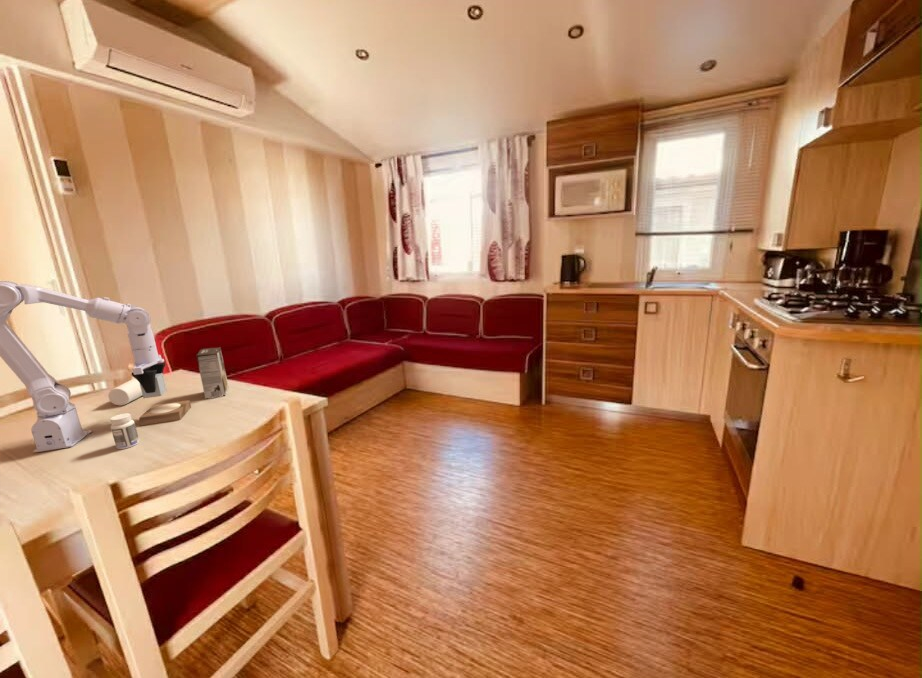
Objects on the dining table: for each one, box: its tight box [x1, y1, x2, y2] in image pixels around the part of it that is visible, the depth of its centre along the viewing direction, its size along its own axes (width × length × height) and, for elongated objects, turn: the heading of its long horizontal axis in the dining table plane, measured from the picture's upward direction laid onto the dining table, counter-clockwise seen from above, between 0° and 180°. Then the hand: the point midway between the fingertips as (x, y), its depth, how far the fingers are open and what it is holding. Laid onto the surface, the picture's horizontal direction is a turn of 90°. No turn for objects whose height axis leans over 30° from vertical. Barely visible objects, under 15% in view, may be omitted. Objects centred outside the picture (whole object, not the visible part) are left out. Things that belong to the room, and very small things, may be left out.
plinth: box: [138, 399, 192, 426], centre depth 117 cm, size 10×10×3 cm
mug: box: [108, 377, 143, 406], centre depth 131 cm, size 10×7×12 cm
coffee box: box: [196, 346, 229, 400], centre depth 133 cm, size 9×6×16 cm
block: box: [140, 372, 168, 399], centre depth 115 cm, size 4×4×6 cm
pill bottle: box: [110, 412, 140, 450], centre depth 99 cm, size 5×5×8 cm
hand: (154, 389), depth 115 cm, fingers closed on block, 4 cm apart
